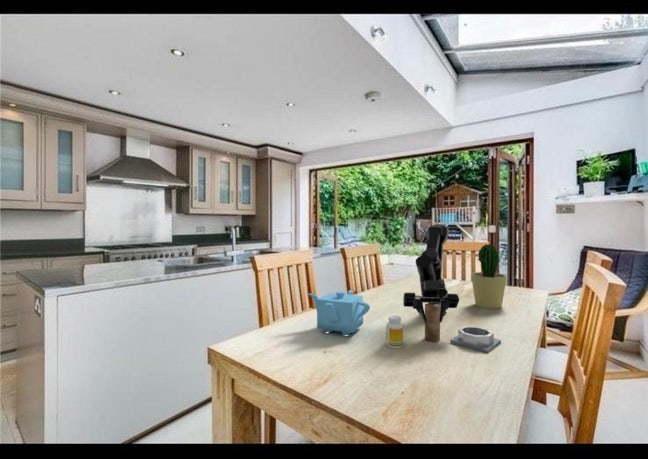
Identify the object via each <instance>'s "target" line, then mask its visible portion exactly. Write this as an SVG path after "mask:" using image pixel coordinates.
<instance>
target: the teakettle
mask: <svg viewBox="0 0 648 459" xmlns="http://www.w3.org/2000/svg"><path fill="white" fill-rule="evenodd" d="M353 292H354V291H353V290H352V289H350V290H348V291H347V293H346V292H345V291H341V290H340V291H336V292H329V293H327V294H325V295H323V296H321V297H319V296H318V295H317V294H315V293H308V295H309V296H310V297H311V298H312V299H313V301H314V305H315V310H316V328H317V329H319V330H324V332H325V331H326V332H332V333H333V331H334V332H341V335H342V334H343V335H349V334H350V335H351V334H354V333H355V332H356V331H357V330H358V329H359V328H360V327H361V326H362V325H363V324H364V316H365V315H366V314H368V312H369V310H370V308H371V306H370V304H369V303H367V302H364V296H363V295H357V294H353Z"/></svg>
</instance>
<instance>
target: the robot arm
mask: <svg viewBox="0 0 648 459" xmlns="http://www.w3.org/2000/svg"><path fill="white" fill-rule="evenodd" d="M449 231H450V228H449V227H448V226H447V225H445V224H444V225H443V224H442V225H440V224H438V225H433V224H432V225H431V226H428V227H427V236H428V239H427V244H426V247H425V248H426V249H425V250H424V251H422V252H421V255H420V256H418V257H417V258H416V259H415V265H416V269H417V273H418V276H419V285H420V293H421V295H419V294H417V295H416V293H415V292H404V293H403V300H402V301H403V305H402V306H403V307H405V308H410V307H411V308H412V309H414V310H416V312H417V313H418V314H419V316H420V318H421V319H422V321H423V322H424V323H425V322H426V318H425V307H424V304H427V303H434V304H439V305H440V324H441V323H442V322H443V318H444V315H446V314H447V311H448V309H456V308H457V307H458V305H459V302H460V296H459V295H458V294H457V293H449V292H448V289H447V287H446V284H445V283H446V282H445V279H443V277H442V276H443V273H442V272H443V254H444V253H443V252H444V245H445V243H446V242H447V240H448V237H449V234H450V232H449Z"/></svg>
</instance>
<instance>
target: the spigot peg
mask: <svg viewBox="0 0 648 459" xmlns="http://www.w3.org/2000/svg"><path fill="white" fill-rule="evenodd" d="M424 313H425V318H426V322H424V340H425V341H427V342H430V343H438V342H440V341H441V323H440V305H439V304H434V303H424Z"/></svg>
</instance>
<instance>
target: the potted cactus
mask: <svg viewBox="0 0 648 459" xmlns="http://www.w3.org/2000/svg"><path fill="white" fill-rule="evenodd" d="M497 250H498V248H497V247H495V246H494V244H492V243H490V244H489V243H488V244H487V243H485V244H484V245H483V244H482V246H481V247H480V249H479V250H478V253H477V254H478V255H476V256H477V257H478V259H476V261H478V263H480V269H481V271H479V272H478V271H477V272H471V273H470V275H471V282H472V290H473V296H474V303H475V306H477V307H479V308H484V309H493V310H494V309H501V308H502V306H503V302H504V301H503V300H504V296H505V288H506V283H507V277H508V275H507V274H504V273H499V272H498V266H499V264H500V263H499V262H501V261H500V260H501V259H500V255H499V251H497Z"/></svg>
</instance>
